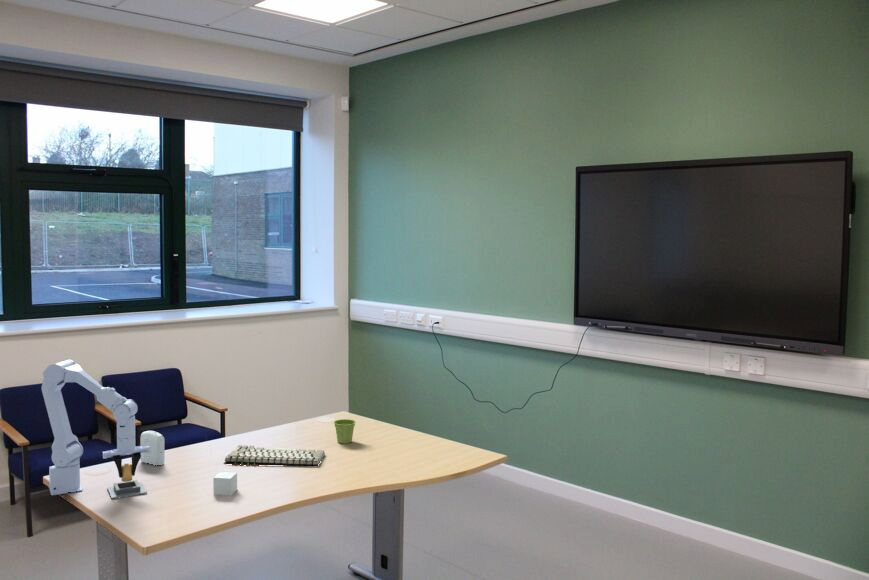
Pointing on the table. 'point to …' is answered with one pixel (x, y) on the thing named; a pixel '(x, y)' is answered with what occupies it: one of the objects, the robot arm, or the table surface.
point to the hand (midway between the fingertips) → (126, 475)
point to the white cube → (225, 483)
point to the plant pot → (344, 430)
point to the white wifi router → (153, 447)
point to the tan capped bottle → (126, 472)
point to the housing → (126, 489)
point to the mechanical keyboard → (273, 456)
